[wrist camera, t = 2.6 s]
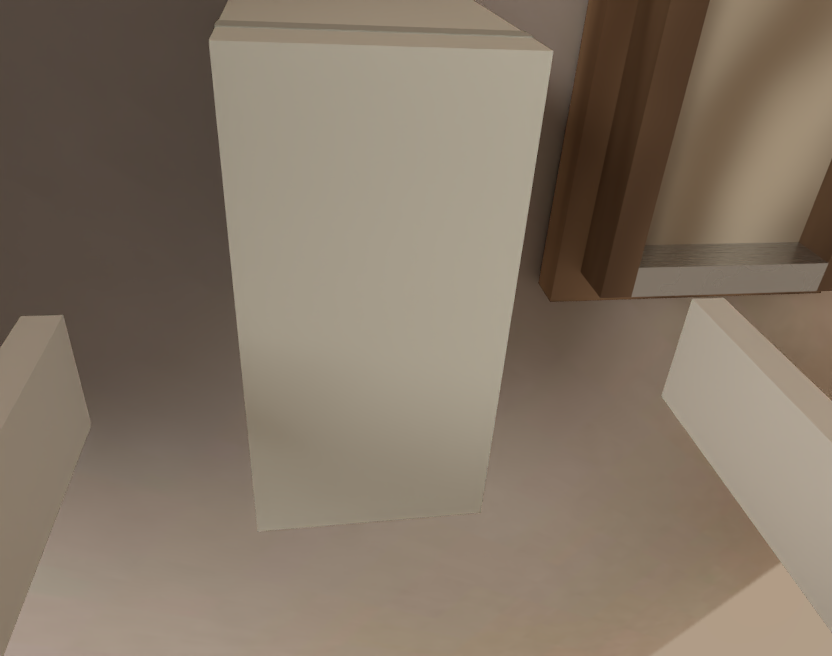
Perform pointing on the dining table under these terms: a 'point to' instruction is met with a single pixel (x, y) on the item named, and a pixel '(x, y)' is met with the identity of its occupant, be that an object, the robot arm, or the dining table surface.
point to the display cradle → (696, 153)
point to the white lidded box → (373, 245)
